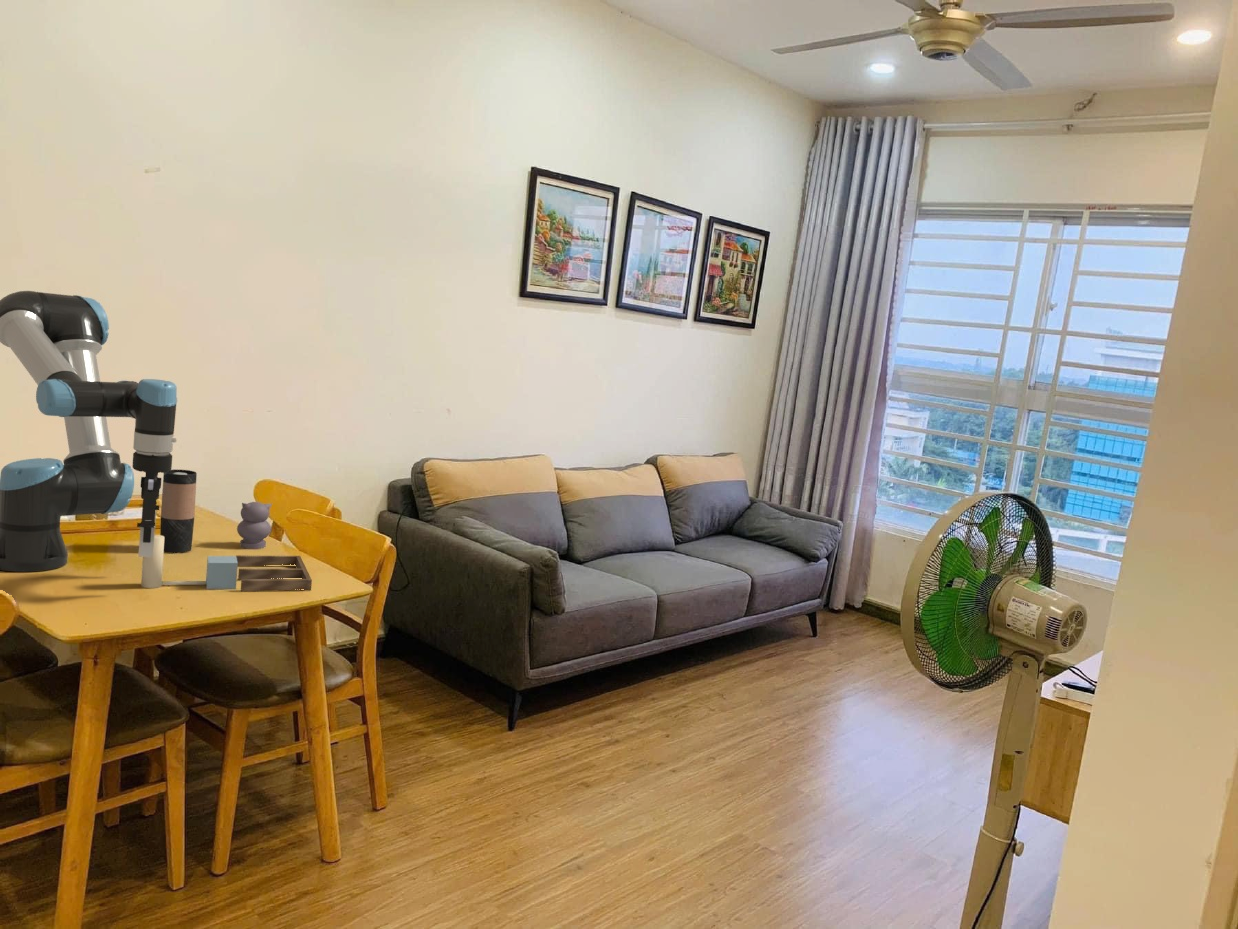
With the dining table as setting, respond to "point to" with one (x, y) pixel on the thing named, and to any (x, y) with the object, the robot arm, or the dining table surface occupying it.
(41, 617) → the dining table surface
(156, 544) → the tethered block
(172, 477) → the travel mug
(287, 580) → the lane rack
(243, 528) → the cat figurine
